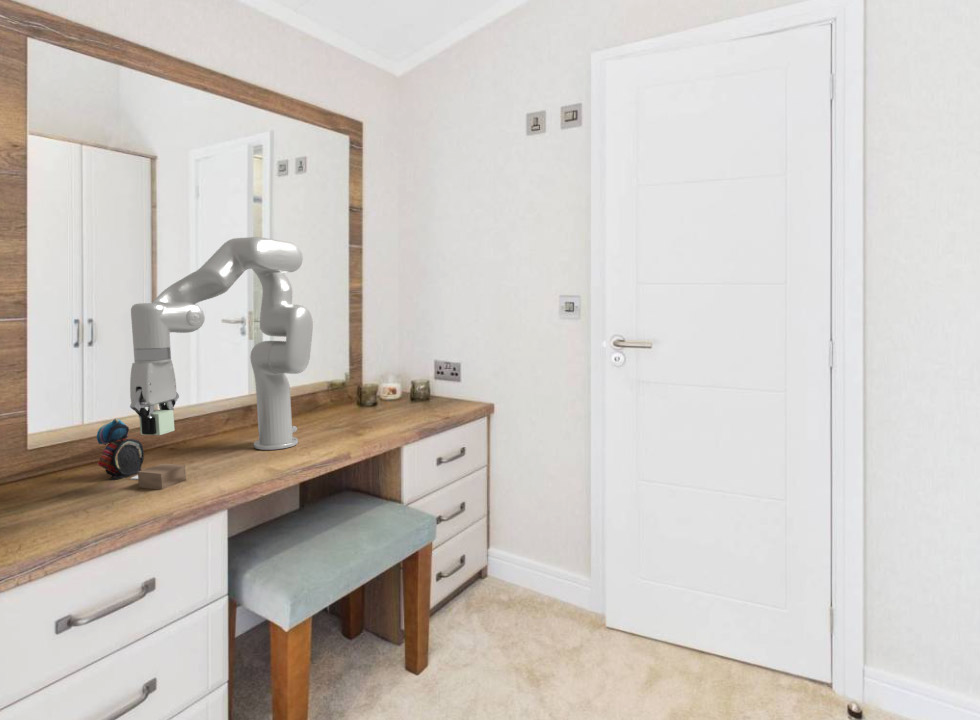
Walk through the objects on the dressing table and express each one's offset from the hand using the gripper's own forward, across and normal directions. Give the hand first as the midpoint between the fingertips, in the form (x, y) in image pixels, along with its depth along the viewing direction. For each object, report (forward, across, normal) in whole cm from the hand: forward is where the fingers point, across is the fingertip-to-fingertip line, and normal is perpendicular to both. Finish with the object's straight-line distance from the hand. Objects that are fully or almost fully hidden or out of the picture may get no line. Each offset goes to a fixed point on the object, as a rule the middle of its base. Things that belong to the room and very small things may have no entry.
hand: (157, 430), depth 137 cm
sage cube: (+1, 0, 0) cm, 1 cm away
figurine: (+13, -5, -15) cm, 21 cm away
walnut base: (+13, 0, 0) cm, 13 cm away
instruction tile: (+13, -6, -8) cm, 17 cm away
